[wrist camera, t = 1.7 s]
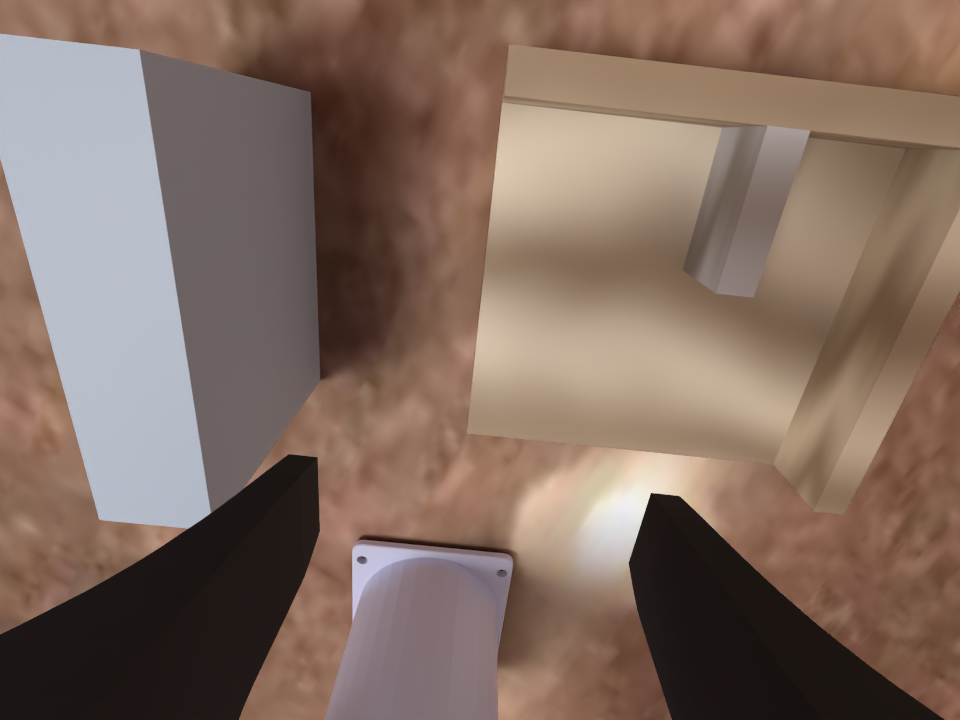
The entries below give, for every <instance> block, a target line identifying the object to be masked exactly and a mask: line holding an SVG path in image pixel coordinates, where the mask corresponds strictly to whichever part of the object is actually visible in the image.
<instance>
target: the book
mask: <svg viewBox="0 0 960 720" xmlns="http://www.w3.org/2000/svg"><path fill="white" fill-rule="evenodd" d="M0 158H1V162H2V166H3V169H4V173H5V177H6V180H7V184H8V187H9V191H10V195H11V198H12V202H13V206H14V209H15V213H16V217H17V220H18V224H19V228H20V231H21V235H22V239H23V242H24V246H25V250H26V253H27V257H28V260H29V264H30V268H31V271H32V275H33V279H34V282H35V286H36V290H37V293H38V297H39V301H40V304H41V308H42V312H43V315H44V319H45V323H46V326H47V330H48V333H49V337H50V341H51V344H52V348H53V352H54V355H55V359H56V363H57V366H58V370H59V374H60V377H61V381H62V385H63V388H64V392H65V395H66V399H67V403H68V406H69V410H70V414H71V417H72V421H73V425H74V428H75V432H76V436H77V439H78V443H79V447H80V450H81V454H82V458H83V461H84V465H85V468H86V472H87V476H88V479H89V483H90V487H91V490H92V494H93V498H94V501H95V505H96V509H97V512H98V516H99V520H106V521H116V522H126V523H137V524H147V525H158V526H168V527H179V528H190V527H192V526H193V525H195V524H196V523H198V522H199V521H200V520H202V519H203V518H205V517H206V516H208V515H209V514H210V513H212V512H213V511H214V510H216V509H217V508H218V507H220V506H221V505H223V504H224V503H225V502H227V501H228V500H229V499H231V498H232V497H233V496H235V495H236V494H237V493H239V492H240V491H241V490H243V489H244V487H245V486H246V484H247V483H248V482H249V480H250V479H251V477H252V476H253V475H254V473H255V472H256V470H257V469H258V467H259V466H260V465H261V463H262V462H263V460H264V459H265V458H266V456H267V455H268V453H269V452H270V451H271V449H272V448H273V446H274V445H275V444H276V442H277V441H278V439H279V438H280V437H281V435H282V434H283V432H284V431H285V429H286V428H287V427H288V425H289V424H290V422H291V421H292V420H293V418H294V417H295V415H296V414H297V413H298V411H299V410H300V408H301V407H302V406H303V404H304V403H305V401H306V400H307V398H308V397H309V396H310V394H311V393H312V391H313V390H314V389H315V387H316V386H317V384H318V383H319V382H320V354H319V325H318V295H317V265H316V235H315V205H314V175H313V145H312V116H311V92H308V91H304V90H300V89H296V88H292V87H288V86H284V85H280V84H276V83H272V82H268V81H264V80H260V79H256V78H252V77H248V76H244V75H239V74H235V73H231V72H227V71H223V70H219V69H215V68H211V67H207V66H203V65H199V64H195V63H191V62H187V61H183V60H179V59H175V58H171V57H167V56H162V55H158V54H154V53H150V52H146V51H142V50H137V49H128V48H119V47H111V46H102V45H93V44H84V43H76V42H67V41H58V40H49V39H41V38H32V37H23V36H15V35H6V34H0Z"/></svg>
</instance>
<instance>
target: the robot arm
mask: <svg viewBox="0 0 960 720" xmlns="http://www.w3.org/2000/svg"><path fill="white" fill-rule="evenodd" d="M319 532H320V523H319V492H318V460H317V457H309V456H299V455H290V454H289V455H287V456H286V457H285V458H283V459H282V460H281V461H279V462H278V463H277V464H275V465H274V466H273V467H271V468H270V469H269V470H267V471H266V472H265V473H264V474H262V475H261V476H260V477H258V478H257V479H256V480H254V481H253V482H252V483H251V484H249V485H248V486H247V487H245V488H244V489H243V490H241V491H240V492H239V493H237V494H236V495H235V496H233V497H232V498H231V499H229V500H228V501H227V502H225V503H224V504H223V505H221V506H220V507H218V508H217V509H216V510H214V511H213V512H212V513H210V514H209V515H208V516H206V517H205V518H203V519H202V520H200V521H199V522H198V523H196V524H195V525H193V526H192V527H190V528H189V529H187V530H186V531H184V532H183V533H181V534H180V535H178V536H177V537H175V538H174V539H172V540H171V541H169V542H168V543H166V544H165V545H164V546H162V547H161V548H159V549H157V550H156V551H154V552H153V553H151V554H149V555H148V556H146V557H145V558H143V559H141V560H140V561H138V562H136V563H135V564H133V565H131V566H130V567H128V568H126V569H124V570H123V571H121V572H119V573H118V574H116V575H114V576H112V577H111V578H109V579H107V580H105V581H104V582H102V583H100V584H98V585H97V586H95V587H93V588H91V589H89V590H87V591H86V592H84V593H82V594H80V595H78V596H76V597H74V598H72V599H70V600H68V601H66V602H64V603H62V604H60V605H58V606H56V607H54V608H52V609H51V610H49V611H47V612H45V613H43V614H41V615H39V616H37V617H35V618H33V619H31V620H29V621H27V622H25V623H23V624H21V625H19V626H17V627H15V628H13V629H11V630H9V631H7V632H5V633H2V634H0V720H239V717H240V715H241V712H242V709H243V707H244V705H245V702H246V700H247V698H248V696H249V693H250V691H251V689H252V686H253V684H254V682H255V680H256V678H257V675H258V673H259V671H260V669H261V667H262V665H263V663H264V661H265V659H266V657H267V655H268V652H269V650H270V648H271V646H272V644H273V642H274V640H275V638H276V636H277V634H278V631H279V629H280V627H281V625H282V623H283V621H284V619H285V617H286V615H287V613H288V611H289V608H290V606H291V604H292V602H293V600H294V598H295V596H296V593H297V591H298V589H299V587H300V585H301V583H302V581H303V578H304V576H305V573H306V570H307V568H308V565H309V562H310V559H311V556H312V553H313V550H314V547H315V544H316V541H317V538H318V535H319ZM361 556H363V557H366V558H362V557H361ZM629 567H630V573H631V579H632V585H633V590H634V595H635V600H636V605H637V610H638V613H639V617H640V620H641V623H642V627H643V630H644V633H645V636H646V639H647V643H648V646H649V649H650V652H651V655H652V658H653V661H654V665H655V668H656V671H657V674H658V677H659V680H660V683H661V686H662V690H663V693H664V696H665V699H666V702H667V705H668V708H669V711H670V715H671V718H672V720H944V719H943V718H941V717H940V716H939V715H937V714H936V713H934V712H933V711H931V710H930V709H929V708H927V707H926V706H924V705H923V704H921V703H920V702H919V701H917V700H916V699H914V698H913V697H911V696H910V695H909V694H907V693H906V692H904V691H903V690H901V689H900V688H899V687H897V686H896V685H894V684H893V683H892V682H890V681H889V680H888V679H886V678H885V677H884V676H882V675H881V674H879V673H878V672H877V671H875V670H874V669H873V668H871V667H870V666H869V665H868V664H866V663H865V662H864V661H862V660H861V659H860V658H859V657H857V656H856V655H855V654H853V653H852V652H851V651H850V650H848V649H847V648H846V647H845V646H843V645H842V644H841V643H839V642H838V641H837V640H836V639H834V638H833V637H832V636H831V635H829V634H828V633H827V632H826V631H824V630H823V629H822V628H821V627H820V626H818V625H817V624H816V623H815V622H814V621H812V620H811V619H810V618H809V617H808V616H807V615H805V614H804V613H803V612H802V611H801V610H800V609H799V608H797V607H796V606H795V605H794V604H793V603H792V602H791V601H789V600H788V599H787V598H786V597H785V596H784V595H783V594H781V593H780V592H779V591H778V590H777V589H776V588H775V587H774V586H773V585H772V584H770V583H769V582H768V581H767V580H766V579H765V578H764V577H763V576H762V575H761V574H760V573H759V572H757V571H756V570H755V569H754V568H753V567H752V566H751V565H750V564H749V563H748V562H747V561H746V560H745V559H744V558H743V557H742V556H741V555H740V554H739V553H738V552H737V551H735V550H734V549H733V548H732V547H731V546H730V545H729V544H728V543H727V542H726V541H725V540H724V539H723V538H722V537H721V536H720V535H719V534H718V533H717V532H716V531H715V530H714V529H713V528H712V527H711V526H710V525H709V524H708V523H707V522H706V521H705V520H704V519H703V518H702V517H701V516H700V515H699V514H698V513H697V512H696V511H695V510H694V509H693V508H692V507H690V506H689V505H688V504H687V503H686V502H685V501H684V500H683V499H682V498H681V497H679V496H673V495H664V494H654V493H651V495H650V498H649V501H648V505H647V508H646V511H645V514H644V517H643V520H642V523H641V526H640V530H639V533H638V536H637V539H636V542H635V545H634V548H633V552H632V555H631V558H630V561H629ZM499 570H505V571H499ZM512 570H513V559H512V557H511V556H510V555H508V554H505V553H495V552H485V551H475V550H464V549H454V548H444V547H434V546H423V545H413V544H403V543H393V542H382V541H372V540H359V541H357V542H356V543H355V544H354V547H353V550H352V599H353V623H352V627H351V630H350V634H349V637H348V640H347V644H346V647H345V651H344V654H343V658H342V661H341V664H340V668H339V671H338V675H337V678H336V682H335V685H334V688H333V692H332V695H331V699H330V702H329V706H328V709H327V712H326V716H325V719H324V720H498V685H497V655H498V649H499V644H500V638H501V632H502V627H503V621H504V615H505V609H506V604H507V598H508V592H509V587H510V581H511V575H512Z"/></svg>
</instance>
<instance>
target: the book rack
mask: <svg viewBox="0 0 960 720" xmlns="http://www.w3.org/2000/svg"><path fill="white" fill-rule="evenodd" d="M959 292H960V96H951V95H943V94H934V93H926V92H917V91H908V90H900V89H891V88H882V87H874V86H865V85H857V84H848V83H839V82H831V81H822V80H814V79H805V78H796V77H788V76H779V75H770V74H762V73H753V72H745V71H736V70H727V69H719V68H710V67H702V66H693V65H684V64H676V63H667V62H658V61H650V60H641V59H633V58H624V57H615V56H607V55H598V54H590V53H581V52H572V51H564V50H555V49H547V48H538V47H529V46H521V45H512V44H509V50H508V57H507V63H506V72H505V81H504V90H503V100H502V109H501V118H500V127H499V137H498V146H497V155H496V165H495V174H494V183H493V193H492V202H491V211H490V220H489V230H488V239H487V248H486V258H485V267H484V276H483V285H482V295H481V304H480V313H479V323H478V332H477V341H476V351H475V360H474V369H473V378H472V388H471V397H470V406H469V416H468V425H467V433H469V434H478V435H488V436H498V437H508V438H518V439H528V440H538V441H547V442H557V443H567V444H577V445H587V446H597V447H606V448H616V449H626V450H636V451H646V452H656V453H666V454H675V455H685V456H695V457H705V458H715V459H725V460H734V461H744V462H754V463H764V464H773V465H774V466H775V467H776V468H777V469H778V471H779V472H780V473H781V474H782V475H783V476H784V478H785V479H786V480H787V481H788V482H789V483H790V485H791V486H792V487H793V488H794V489H795V490H796V492H797V493H798V494H799V495H800V496H801V498H802V499H803V500H804V501H805V502H806V503H807V505H808V506H809V507H810V508H811V509H812V510H813V512H823V513H833V514H843V515H844V514H845V512H846V510H847V508H848V506H849V504H850V502H851V501H852V499H853V497H854V495H855V493H856V491H857V489H858V487H859V485H860V483H861V481H862V479H863V477H864V475H865V473H866V472H867V470H868V468H869V466H870V464H871V462H872V460H873V458H874V456H875V454H876V452H877V450H878V448H879V446H880V444H881V443H882V441H883V439H884V437H885V435H886V433H887V431H888V429H889V427H890V425H891V423H892V421H893V419H894V417H895V415H896V414H897V412H898V410H899V408H900V406H901V404H902V402H903V400H904V398H905V396H906V394H907V392H908V390H909V388H910V386H911V385H912V383H913V381H914V379H915V377H916V375H917V373H918V371H919V369H920V367H921V365H922V363H923V361H924V359H925V357H926V356H927V354H928V352H929V350H930V348H931V346H932V344H933V342H934V340H935V338H936V336H937V334H938V332H939V330H940V329H941V327H942V325H943V323H944V321H945V319H946V317H947V315H948V313H949V311H950V309H951V307H952V305H953V303H954V301H955V300H956V298H957V296H958V294H959Z"/></svg>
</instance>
